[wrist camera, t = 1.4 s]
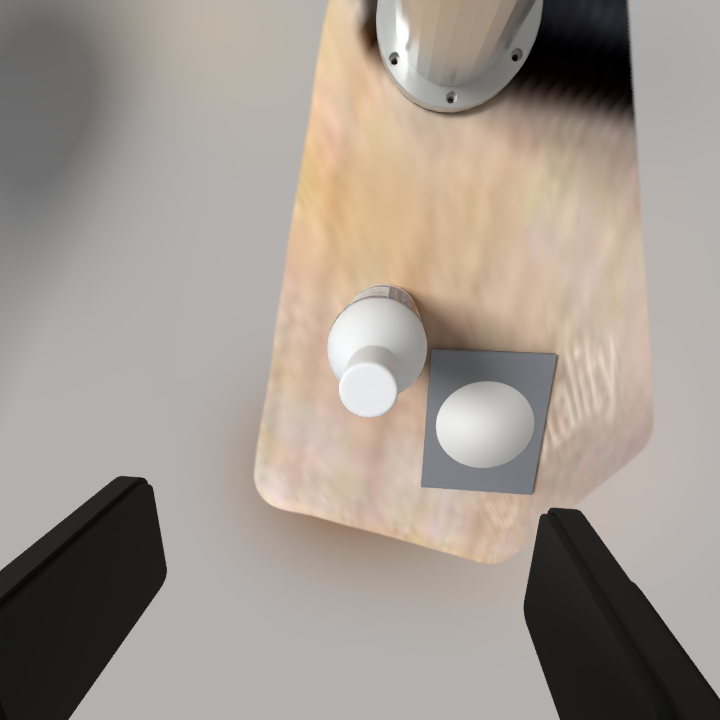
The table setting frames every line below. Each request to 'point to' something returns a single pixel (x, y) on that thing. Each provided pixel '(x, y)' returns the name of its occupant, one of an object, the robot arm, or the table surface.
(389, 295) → the bath foam
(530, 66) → the table surface
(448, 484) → the rubber mat
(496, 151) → the table surface
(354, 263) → the table surface
